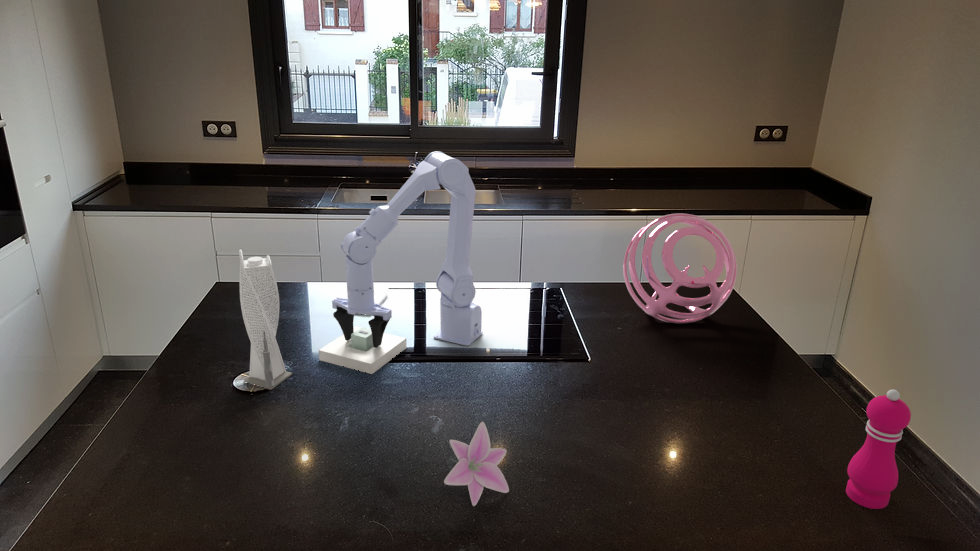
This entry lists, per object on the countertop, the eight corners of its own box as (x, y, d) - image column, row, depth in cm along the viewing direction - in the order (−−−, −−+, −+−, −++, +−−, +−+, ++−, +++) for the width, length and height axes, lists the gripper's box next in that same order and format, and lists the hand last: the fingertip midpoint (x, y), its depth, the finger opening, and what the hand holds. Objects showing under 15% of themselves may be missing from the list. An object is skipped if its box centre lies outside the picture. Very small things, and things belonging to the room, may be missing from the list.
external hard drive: (387, 299, 188) (371, 317, 176) (359, 296, 189) (340, 314, 178) (387, 294, 187) (370, 312, 176) (358, 291, 189) (340, 308, 177)
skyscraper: (238, 381, 144) (222, 254, 134) (263, 364, 151) (250, 243, 141) (271, 389, 141) (257, 261, 131) (295, 372, 148) (284, 248, 138)
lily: (431, 513, 109) (453, 482, 103) (427, 448, 117) (448, 416, 111) (500, 519, 113) (525, 490, 107) (491, 456, 122) (514, 426, 116)
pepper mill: (833, 483, 116) (858, 379, 109) (874, 481, 117) (901, 377, 109) (858, 512, 109) (886, 403, 102) (901, 510, 110) (932, 401, 103)
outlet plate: (406, 347, 160) (406, 338, 159) (371, 374, 148) (371, 363, 147) (356, 335, 165) (356, 326, 164) (319, 360, 153) (318, 350, 152)
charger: (377, 350, 158) (376, 330, 156) (366, 358, 154) (365, 337, 152) (362, 347, 159) (361, 326, 157) (352, 354, 156) (351, 333, 154)
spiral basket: (627, 219, 193) (652, 184, 167) (723, 248, 192) (765, 218, 166) (601, 313, 187) (624, 293, 160) (701, 343, 186) (741, 328, 159)
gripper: (321, 286, 150) (326, 342, 155) (377, 298, 144) (380, 356, 149) (341, 276, 156) (345, 330, 161) (396, 287, 150) (397, 343, 155)
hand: (363, 342), depth 155 cm, fingers open, 7 cm apart
